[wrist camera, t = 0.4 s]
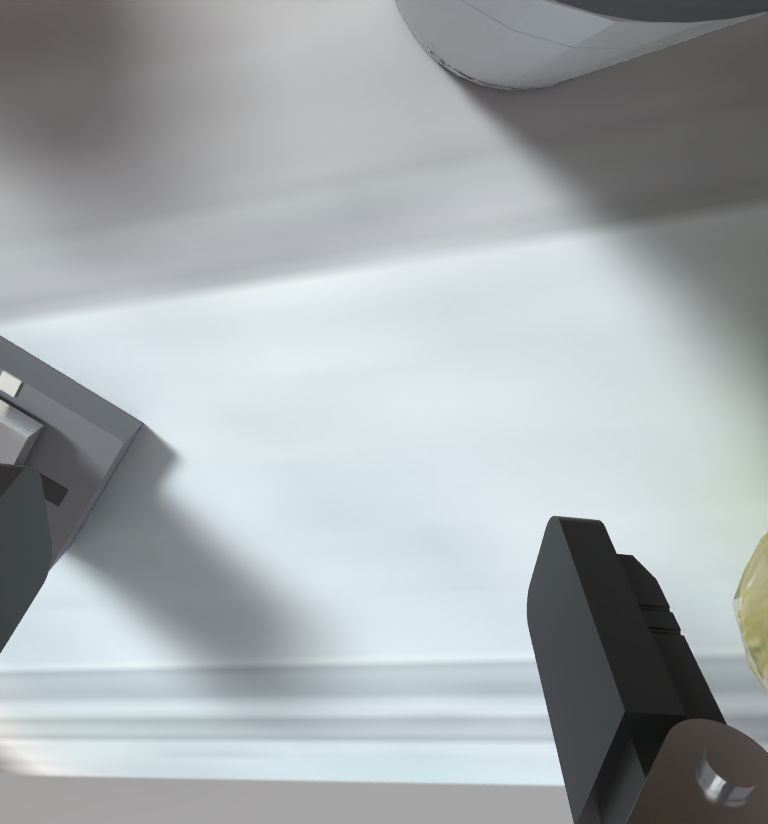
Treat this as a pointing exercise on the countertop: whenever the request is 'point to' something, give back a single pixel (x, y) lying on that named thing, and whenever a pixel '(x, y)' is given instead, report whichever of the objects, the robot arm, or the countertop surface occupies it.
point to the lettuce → (755, 611)
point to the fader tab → (16, 434)
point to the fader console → (65, 439)
